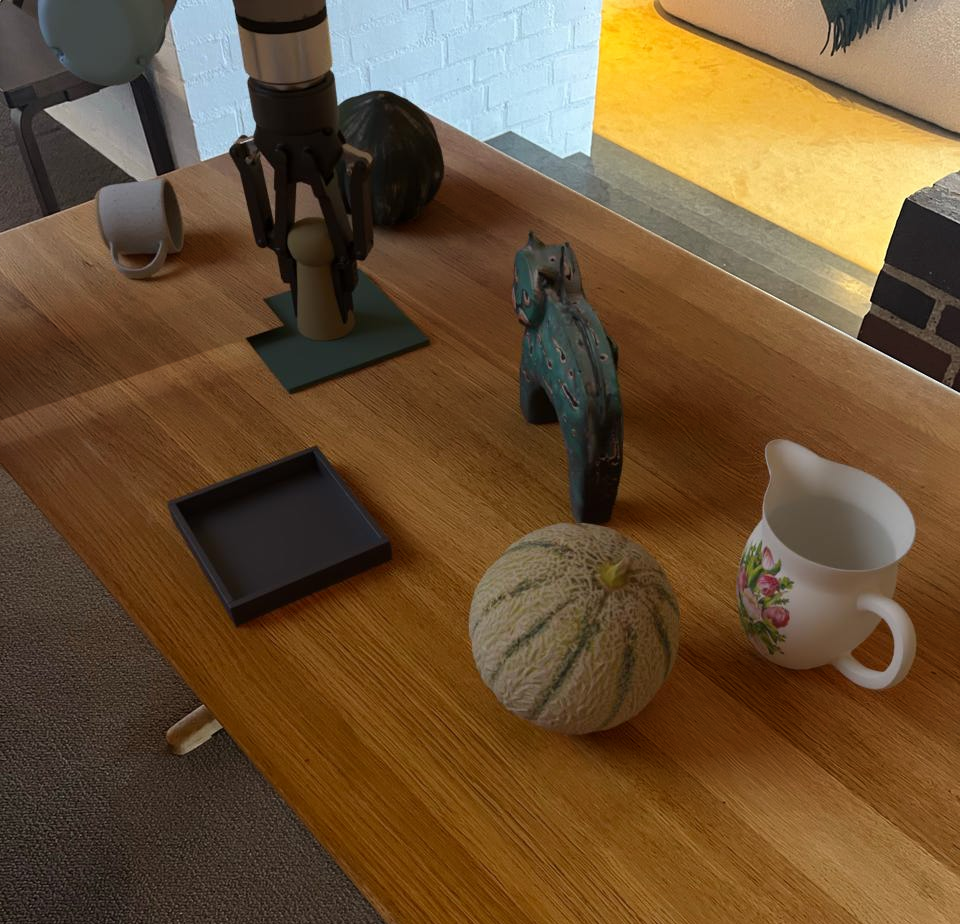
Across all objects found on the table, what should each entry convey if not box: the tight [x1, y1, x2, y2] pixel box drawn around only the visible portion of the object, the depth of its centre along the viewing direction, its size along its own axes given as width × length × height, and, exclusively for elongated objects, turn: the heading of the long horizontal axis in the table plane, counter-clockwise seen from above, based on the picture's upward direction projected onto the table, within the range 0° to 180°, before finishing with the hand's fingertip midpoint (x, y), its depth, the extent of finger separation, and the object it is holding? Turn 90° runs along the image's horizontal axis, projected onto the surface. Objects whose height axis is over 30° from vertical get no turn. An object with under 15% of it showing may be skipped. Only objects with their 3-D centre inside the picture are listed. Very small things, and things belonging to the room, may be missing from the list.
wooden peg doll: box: [287, 216, 355, 341], centre depth 100 cm, size 6×6×11 cm
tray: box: [166, 444, 393, 628], centre depth 84 cm, size 14×14×2 cm
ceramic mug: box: [93, 177, 185, 280], centre depth 111 cm, size 11×8×8 cm
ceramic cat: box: [511, 229, 625, 525], centre depth 84 cm, size 20×6×20 cm, turn 14°
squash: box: [335, 89, 445, 228], centre depth 115 cm, size 14×15×15 cm
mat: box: [245, 267, 431, 395], centre depth 104 cm, size 16×16×1 cm
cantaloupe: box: [468, 522, 681, 736], centre depth 69 cm, size 15×15×15 cm
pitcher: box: [735, 438, 917, 691], centre depth 72 cm, size 11×18×14 cm, turn 24°
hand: (324, 312), depth 103 cm, fingers closed on wooden peg doll, 4 cm apart
